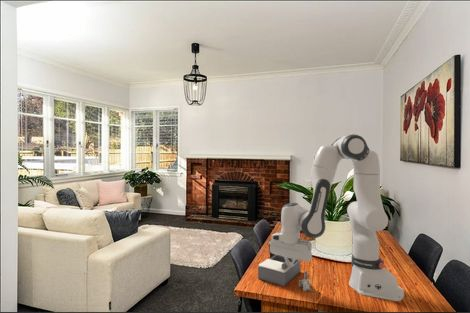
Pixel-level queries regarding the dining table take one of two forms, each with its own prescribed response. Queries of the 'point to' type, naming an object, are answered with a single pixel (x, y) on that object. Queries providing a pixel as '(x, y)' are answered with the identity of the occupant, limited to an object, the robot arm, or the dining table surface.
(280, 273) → the box
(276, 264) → the sliding lid
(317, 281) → the dining table surface
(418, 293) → the dining table surface
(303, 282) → the house of cards
